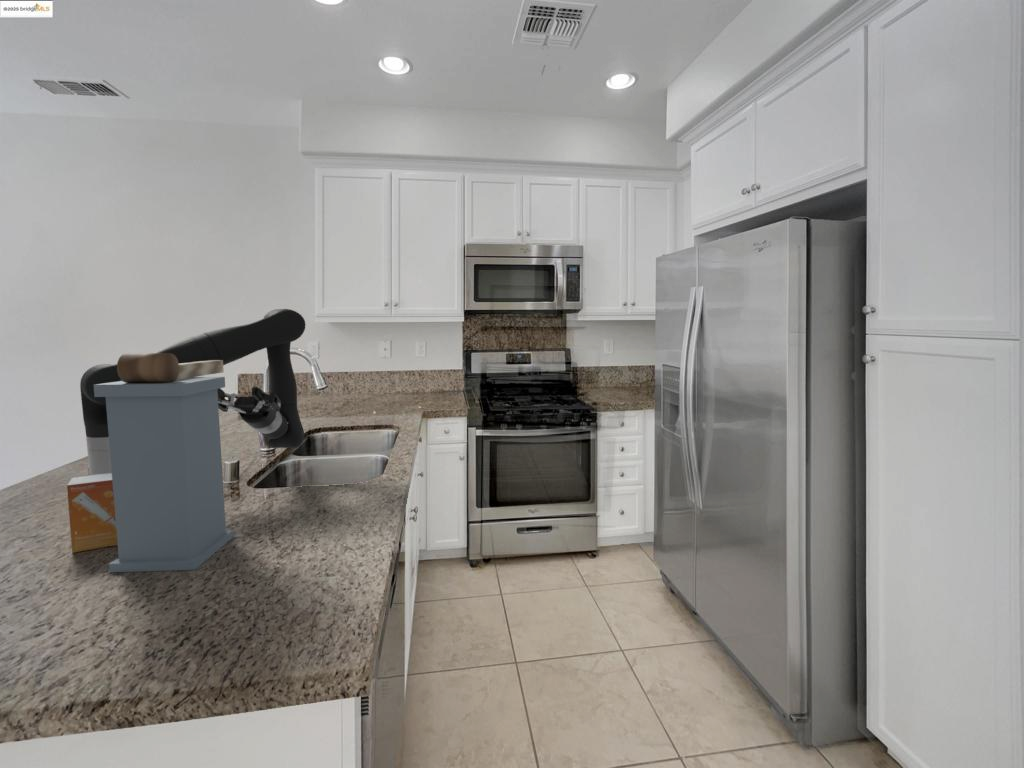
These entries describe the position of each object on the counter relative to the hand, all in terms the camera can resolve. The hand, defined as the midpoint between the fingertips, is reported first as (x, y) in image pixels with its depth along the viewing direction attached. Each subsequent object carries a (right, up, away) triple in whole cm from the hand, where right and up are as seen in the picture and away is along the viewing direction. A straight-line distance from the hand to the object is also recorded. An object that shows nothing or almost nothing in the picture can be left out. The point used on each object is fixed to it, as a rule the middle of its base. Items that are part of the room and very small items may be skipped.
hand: (234, 390), depth 116 cm
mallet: (+1, +3, -20) cm, 20 cm away
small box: (-16, -30, -18) cm, 38 cm away
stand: (+2, -30, -23) cm, 37 cm away
